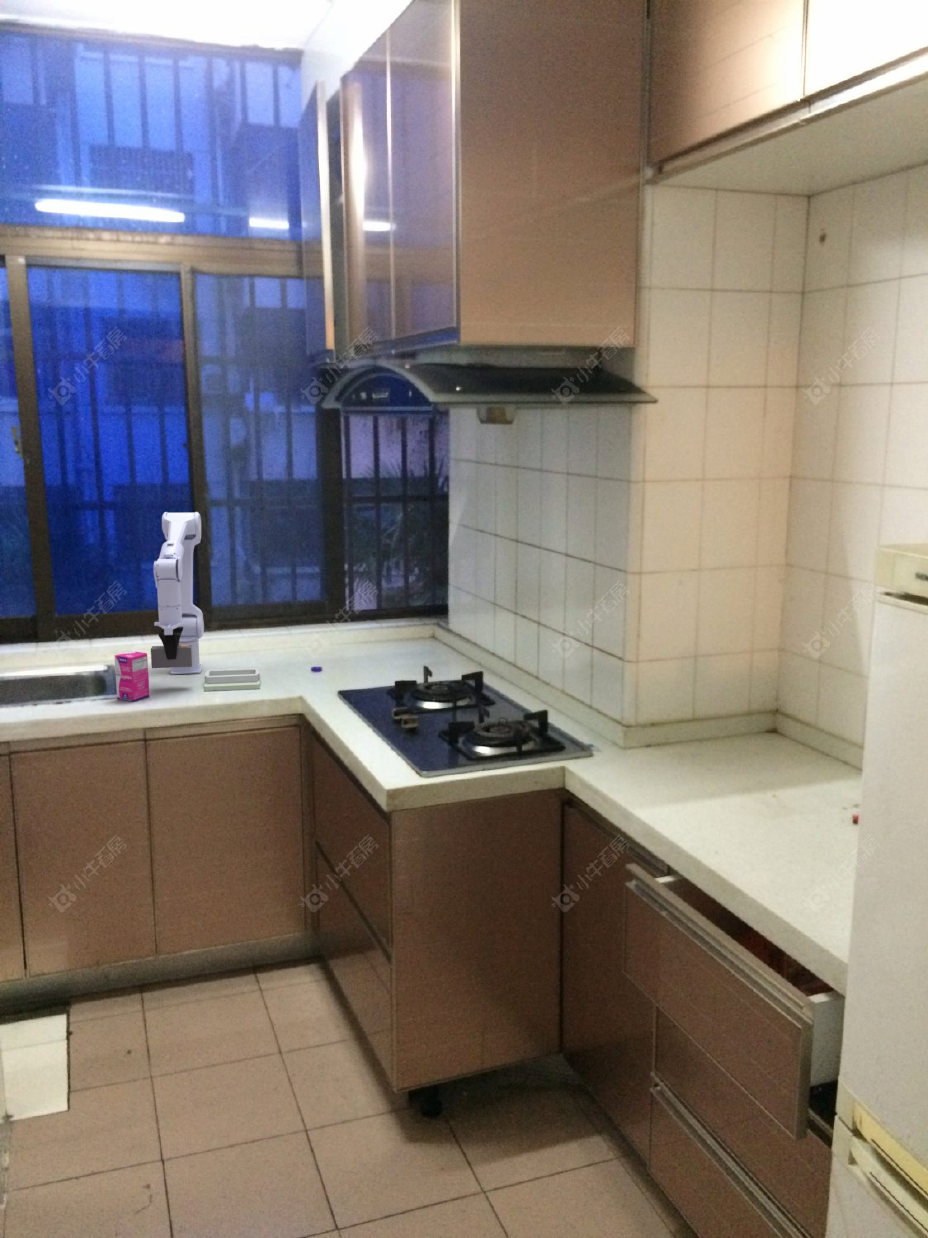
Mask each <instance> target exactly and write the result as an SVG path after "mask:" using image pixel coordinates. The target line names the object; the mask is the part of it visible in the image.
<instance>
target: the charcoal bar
mask: <svg viewBox="0 0 928 1238" xmlns="http://www.w3.org/2000/svg"><path fill="white" fill-rule="evenodd" d="M150 662H151V669H169V668H171V669H172V668H175V667H192V665H193V652H192V645H178V647H177V656H176V659H170V660H167V657H166V653H165V649H164V646H163V645H152V646H151V648H150Z"/></svg>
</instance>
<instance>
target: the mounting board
mask: <svg viewBox="0 0 928 1238" xmlns="http://www.w3.org/2000/svg"><path fill="white" fill-rule="evenodd" d="M260 673H261V672H260V669H259V668H257V667H254V668H253V667H251V668H250V667H249V668H227V669H223V668H222V669H208V670H206V671H205V672H204V685H203V692H214V691H213V690H222V691H240V690H241V691H242V690H245V691H246V690H260V689H261V685H260V683H261V680H260V679H261V676H260Z"/></svg>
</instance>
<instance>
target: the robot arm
mask: <svg viewBox="0 0 928 1238" xmlns="http://www.w3.org/2000/svg"><path fill="white" fill-rule="evenodd" d="M161 530H162V532H163V535H164V538H165V540H166V541H165V542H164V543H162V546H161V549H160V553H159V557H158V559H157V560H154V562H153V576H154V581H155V588H156V589H157V591H156V592H157V611H158V621H154V623H153V624H154V626H155V627H159V628H161V629H160V631H159V632H158V634H157V635H158V638H159V639H160V641H161V643H162V646H164V649H165V653H166V657H167V660H170V659H176V656H177V647H178V645H192V652H193V665H192V667H175V668H171V671H170V675H188V674H189V675H190V674H201V673H202V668H203V664H202V663H200V643H199V639H202V637H203V636H204V634H205V633H204V631H205V623H204V613H203V612H202V609H200V608H199V607H197V606H196V605H195V604H194V603H193V600H194V598H193V597H194V595H193V594H194V592H193V591H194V590H193V589H194V583H193V582H194V574H193V572H194V568H193V567H194V549H195V546H197V545H198V544H200V543H201V539H202V517H201V514H200V513H199V512H198V511H195V512H168V511H165V512H163V514H162V516H161Z"/></svg>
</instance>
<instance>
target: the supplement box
mask: <svg viewBox="0 0 928 1238" xmlns="http://www.w3.org/2000/svg"><path fill="white" fill-rule="evenodd" d="M113 656H114V669H115V670H114V671H115V684H116V685H115V686H116V687H115V688H116V698H117V700H122V701H128V702H132V703H135V702H138V701H141V700H144V699H148V698H150V697H151V695H150V680H149V677H150V675H149V665H148V662H149V661H148V653H146V652H140V651H134V650H129V651H128V650H127V651H125V652H122V653H118V654H115V655H113Z"/></svg>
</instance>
